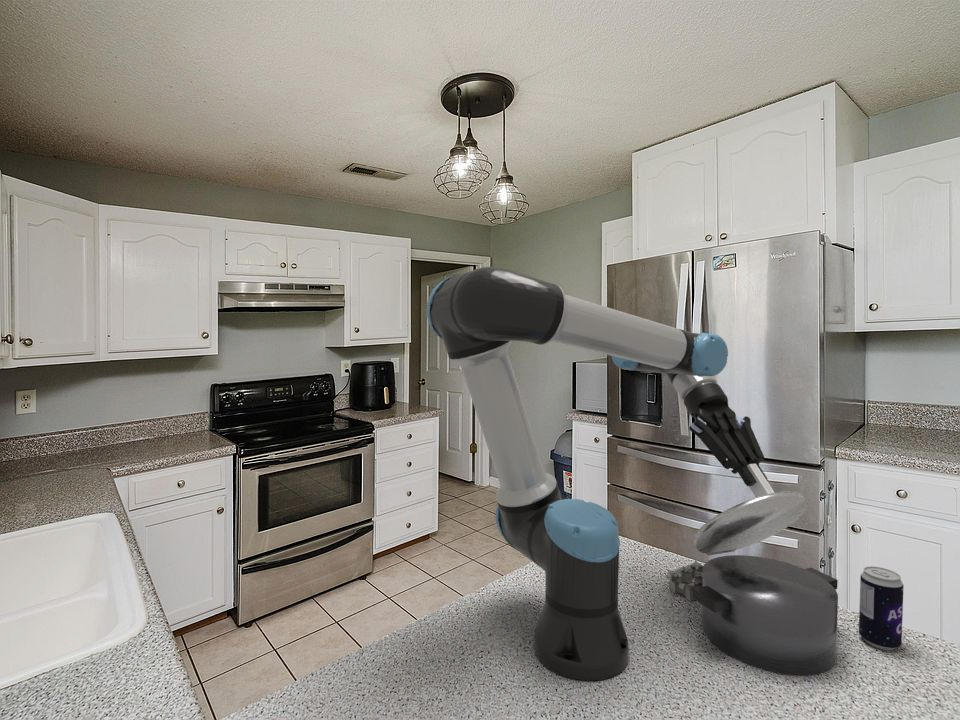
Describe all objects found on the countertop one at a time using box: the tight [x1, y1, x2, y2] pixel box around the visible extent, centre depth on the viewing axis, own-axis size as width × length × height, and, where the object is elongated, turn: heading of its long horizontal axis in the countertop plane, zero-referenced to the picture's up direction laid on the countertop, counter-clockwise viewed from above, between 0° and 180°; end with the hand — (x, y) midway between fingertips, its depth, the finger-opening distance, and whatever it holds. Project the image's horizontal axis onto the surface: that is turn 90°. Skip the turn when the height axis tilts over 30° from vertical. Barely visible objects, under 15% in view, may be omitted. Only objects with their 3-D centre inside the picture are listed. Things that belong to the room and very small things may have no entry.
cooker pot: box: [693, 554, 839, 676], centre depth 88 cm, size 26×20×10 cm
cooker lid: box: [692, 490, 809, 556], centre depth 92 cm, size 20×20×2 cm
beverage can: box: [858, 566, 905, 651], centre depth 86 cm, size 6×6×12 cm
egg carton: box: [666, 560, 704, 601], centre depth 105 cm, size 11×8×4 cm
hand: (768, 501), depth 88 cm, fingers closed
